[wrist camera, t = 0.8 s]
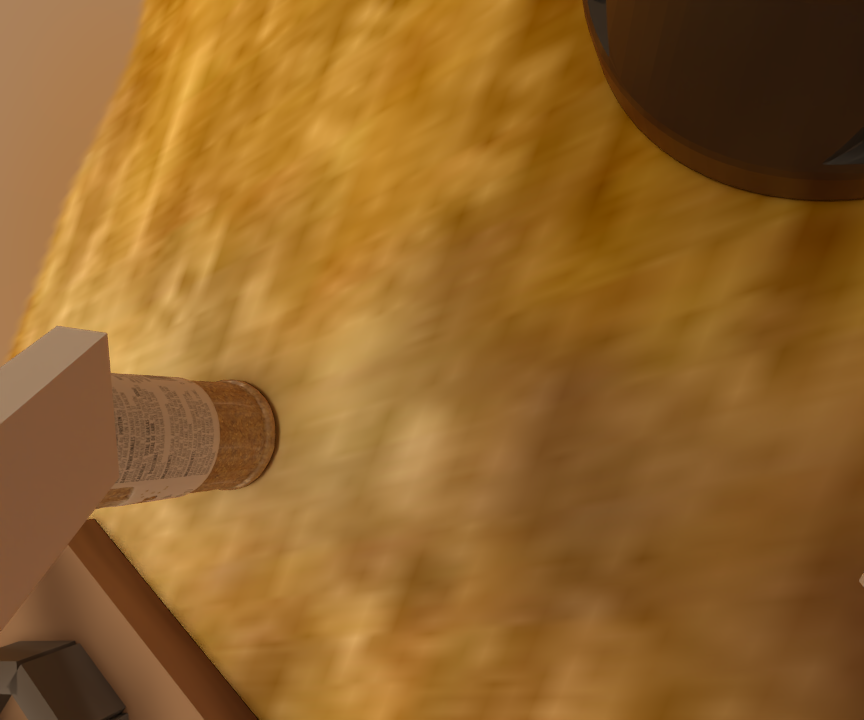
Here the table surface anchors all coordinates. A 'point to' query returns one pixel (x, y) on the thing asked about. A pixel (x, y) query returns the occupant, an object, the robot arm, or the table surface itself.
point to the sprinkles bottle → (186, 437)
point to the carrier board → (105, 647)
